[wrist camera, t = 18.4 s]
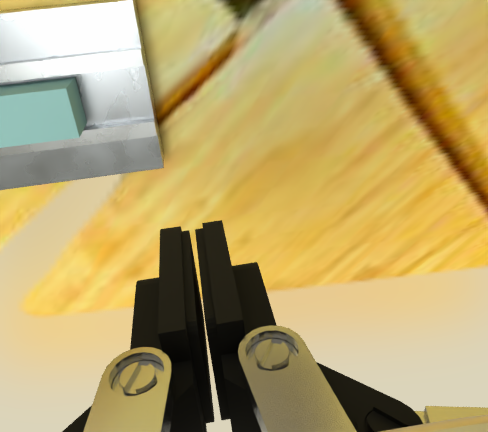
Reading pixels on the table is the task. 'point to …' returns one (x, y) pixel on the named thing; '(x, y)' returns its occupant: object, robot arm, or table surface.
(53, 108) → the lock bar
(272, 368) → the robot arm
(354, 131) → the table surface
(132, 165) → the socket plate
